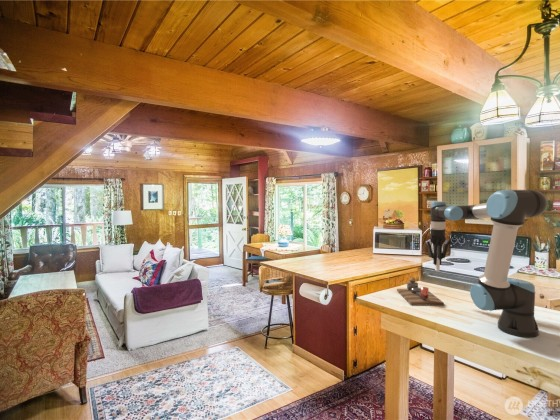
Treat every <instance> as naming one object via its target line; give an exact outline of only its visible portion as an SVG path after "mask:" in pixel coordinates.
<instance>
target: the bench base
mask: <svg viewBox="0 0 560 420" xmlns="http://www.w3.org/2000/svg"><path fill="white" fill-rule="evenodd" d="M408 280H409V281H407V282H406V288H397V289H396V292H397V293H398V294H399V295H400V296H401V297H402V298H403V300H405V301H406V303H408V304H409V305H410V306H444V305H445V303H444V302H443V301H442V300H441V299H440V298H439V297H437V296H436V295H434V294H433V292H431V291H429V290H428V298H427V299H422V298H421V297H419V296H418V295H417V294H416V293H413V292H411V290H410V287H418V288H419V283H418V282H417V281H416V277H414V276H411V277H409V279H408Z"/></svg>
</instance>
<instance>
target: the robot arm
mask: <svg viewBox="0 0 560 420" xmlns="http://www.w3.org/2000/svg"><path fill="white" fill-rule="evenodd" d="M548 204H549V203H548V199H547V197H546V195H544V193H542V191H541V192H540V191H538V190H536V189H535V190H534V189H502V190H497V191H495V192H493V193H492V194H491V195H490V196H489V197H488V199H487V201H486V202H483V203H477V204H471V205H470V204H469V205H447V203H446V201H440V200H439V201H431V203H430V234H429V235H430V237H429V239H428V240H426V241H425V244H426V246H427V249H428V254H429V257H430V258H432V260H433V262H432V264H433V265H434V270H435V271H437V272H440V271H441V270H440V266H441V265H442V260H443V259H445V258H446V255H447V251H448V249H449V248H448V247H449V245H450V244H451V242H450V241H449V240H447V238H446V223H447V221H456V222H457V221H459V220H464V221H465V220H482V219H487V218H490V219H489V220H490V221H491V222H492V224H493V227H492V231H491V236H490V240H489V247H488V252H487V257H486V262H485V266H484V272H483V274H482V275H480V276H478V281H477V283H474V284H472V285H471V286H470V290H469V295H470V299H471V300H472V302H473V303H474V305H475V306H476V307H477V309H480V310H481V311H490V312H492V311H500V310H501V311H502V312H501V314H500V316H499V318H498V319H497V328H498V329H499V330H500V331H502V332H503V333H506V334H508V335H511V336H517V337H520V338H521V337H522V338H535V337H538V336H539V334H540V333H539V332H540V331H539V327H538V323H537V320H536V317H535V305H536V304H535V303H536V301H535V300H536V288H535V287H536V286H535V285H534V283H533V282H530V281H527V280H525V279H518V278H514V277H508V276H509V272H510V266H511V263H512V258H513V252H514V248H515V244H516V239H517V234H518V230H519V228H521V227H523V226H524V224H525V220H526V218H528V219H529V218H530V219H531V218H535V217H539V216H541V215H543V213H545V211H546V210H547V208H548Z"/></svg>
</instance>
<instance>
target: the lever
mask: <svg viewBox="0 0 560 420" xmlns="http://www.w3.org/2000/svg"><path fill="white" fill-rule="evenodd" d="M410 290H411V292H413V293H416V294H417V295H418V296H419V297H421V298H422V299H427V298H428V291H429V287H428V286H420V287H419V286H418V287H410Z"/></svg>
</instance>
